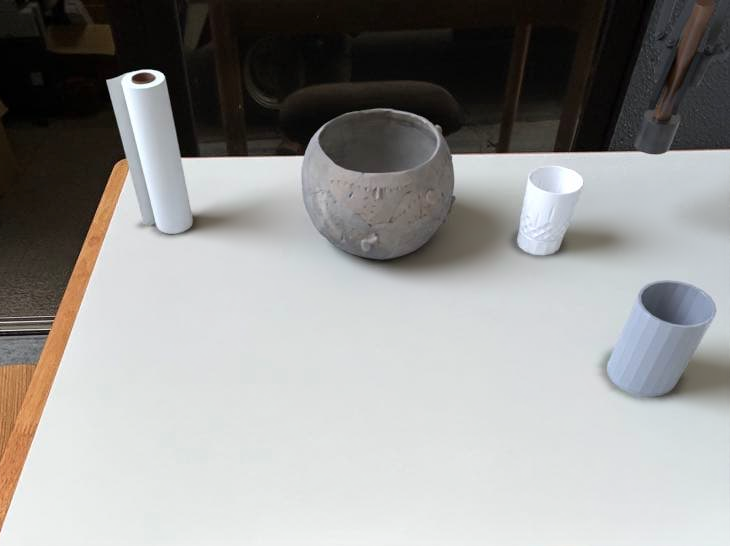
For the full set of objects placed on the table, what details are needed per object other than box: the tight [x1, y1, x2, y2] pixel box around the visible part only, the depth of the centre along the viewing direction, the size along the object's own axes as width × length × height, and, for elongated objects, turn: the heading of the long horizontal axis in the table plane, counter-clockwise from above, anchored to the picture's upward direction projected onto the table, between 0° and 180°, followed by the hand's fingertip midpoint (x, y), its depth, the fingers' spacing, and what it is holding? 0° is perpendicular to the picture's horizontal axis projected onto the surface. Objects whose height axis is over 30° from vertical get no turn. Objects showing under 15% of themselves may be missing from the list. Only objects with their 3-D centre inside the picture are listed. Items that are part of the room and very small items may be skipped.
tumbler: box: [606, 279, 717, 398], centre depth 82 cm, size 9×9×11 cm
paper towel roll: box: [106, 69, 194, 235], centre depth 99 cm, size 7×6×21 cm
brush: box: [633, 0, 716, 156], centre depth 89 cm, size 5×5×17 cm
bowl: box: [300, 107, 457, 261], centre depth 99 cm, size 23×23×15 cm
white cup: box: [516, 165, 585, 256], centre depth 99 cm, size 8×8×10 cm
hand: (663, 107), depth 89 cm, fingers closed on brush, 2 cm apart
